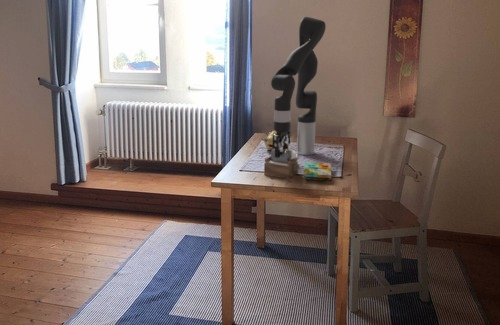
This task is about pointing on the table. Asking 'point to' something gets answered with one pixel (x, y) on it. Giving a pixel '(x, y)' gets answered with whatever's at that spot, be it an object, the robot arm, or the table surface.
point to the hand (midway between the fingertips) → (281, 155)
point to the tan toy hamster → (270, 140)
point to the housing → (281, 155)
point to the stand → (280, 168)
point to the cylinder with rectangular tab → (292, 151)
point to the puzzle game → (317, 171)
